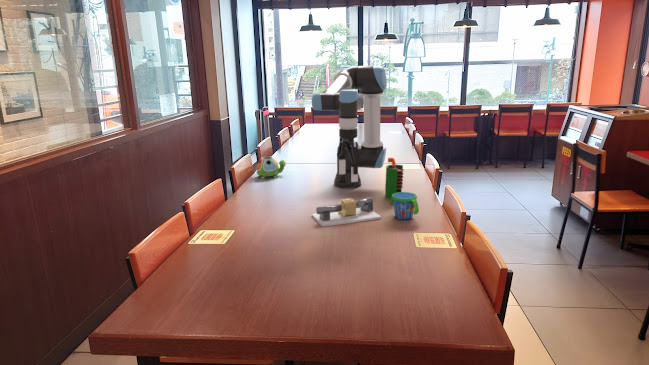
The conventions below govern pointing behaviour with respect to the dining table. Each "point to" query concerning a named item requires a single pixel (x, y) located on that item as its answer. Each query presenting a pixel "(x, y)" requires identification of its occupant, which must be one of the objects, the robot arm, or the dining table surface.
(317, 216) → the base plate
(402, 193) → the snack cup
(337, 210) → the shaft
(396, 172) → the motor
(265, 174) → the turtle holder
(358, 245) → the dining table surface
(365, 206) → the shaft
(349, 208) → the block
